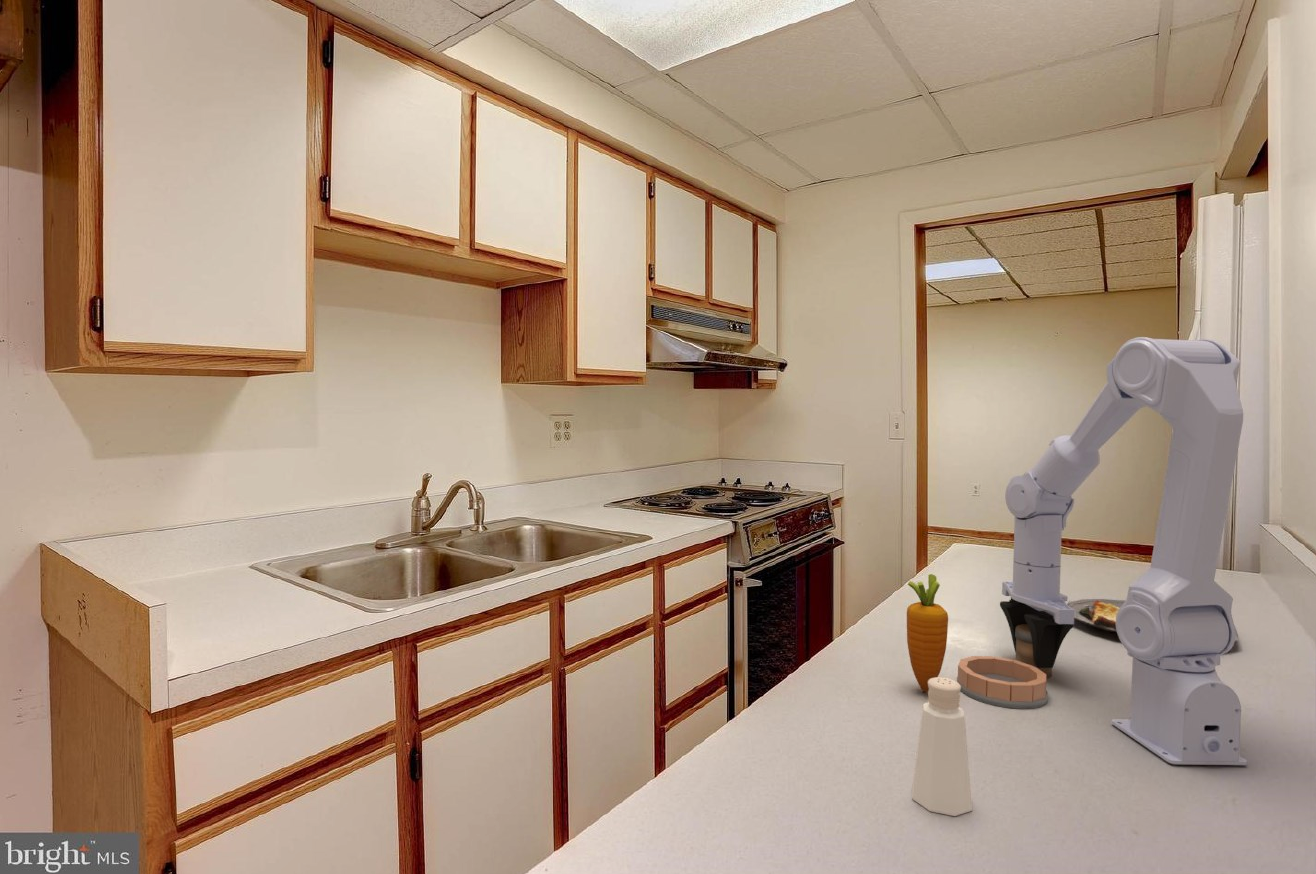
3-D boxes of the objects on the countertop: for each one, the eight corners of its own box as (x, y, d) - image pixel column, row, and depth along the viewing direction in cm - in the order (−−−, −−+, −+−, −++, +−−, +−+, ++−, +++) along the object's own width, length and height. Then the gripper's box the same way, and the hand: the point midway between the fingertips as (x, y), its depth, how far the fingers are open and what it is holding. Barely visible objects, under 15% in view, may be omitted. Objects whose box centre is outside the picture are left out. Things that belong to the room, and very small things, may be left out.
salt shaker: (956, 783, 66) (959, 670, 65) (985, 816, 60) (988, 693, 60) (900, 784, 65) (903, 670, 65) (924, 817, 60) (927, 694, 60)
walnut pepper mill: (1060, 678, 92) (1061, 634, 92) (1025, 678, 92) (1026, 634, 92) (1040, 665, 97) (1042, 624, 97) (1007, 665, 97) (1008, 623, 97)
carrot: (920, 702, 84) (923, 581, 84) (896, 686, 89) (899, 572, 88) (955, 698, 86) (958, 579, 85) (929, 683, 90) (932, 570, 90)
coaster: (1065, 709, 83) (1066, 686, 83) (979, 708, 83) (980, 685, 83) (1019, 676, 93) (1020, 656, 93) (943, 675, 93) (944, 655, 93)
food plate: (1243, 665, 98) (1243, 641, 98) (1056, 634, 112) (1057, 613, 112) (1231, 628, 118) (1232, 607, 118) (1074, 605, 132) (1075, 587, 132)
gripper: (1099, 575, 87) (1095, 680, 87) (1036, 552, 102) (1033, 642, 102) (1044, 575, 87) (1040, 680, 87) (989, 552, 102) (986, 642, 102)
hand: (1033, 660), depth 95 cm, fingers closed on walnut pepper mill, 5 cm apart
